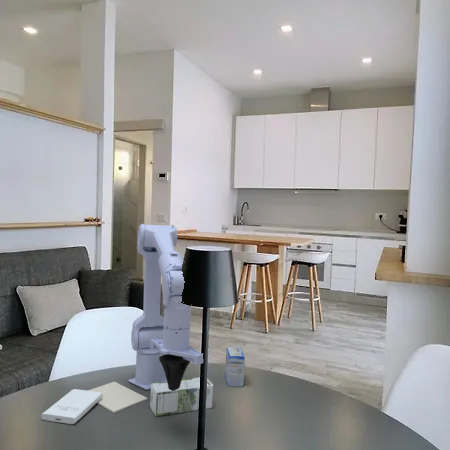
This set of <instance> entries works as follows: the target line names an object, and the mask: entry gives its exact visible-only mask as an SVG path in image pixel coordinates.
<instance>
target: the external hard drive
mask: <svg viewBox="0 0 450 450" xmlns="http://www.w3.org/2000/svg"><path fill="white" fill-rule="evenodd" d="M102 396H103V394H102V393H101V392H94V391H88V390H86V389H78V388H77V389H76V388H74V389H71V390H70V391H69V392H67V393H66V394H65V395H64V396H63V397H62V398H60V399H59V400H58V401H56V402H55V403H54V404H53V405H51V406H50V407H49V408H48V409H46V410H45V411H44V412H42V413H41V415H40V416H41V420H43V421H48V422H54V423H59V424H60V423H62V424H68V425H75V424H76V423H77V422H78V421H80V419H82V417H84V416H85V415H86V414H87V413H88V412H89V411H90V410H91V409H92V408H93V407H94V406H95V405H96V404H97V402H98V401H99V400H100V399H102Z"/></svg>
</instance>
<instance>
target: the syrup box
mask: <svg viewBox="0 0 450 450" xmlns="http://www.w3.org/2000/svg"><path fill="white" fill-rule="evenodd" d="M199 389H200V377H192V378H191V377H190V378H184V379H183V378H182V381H181V384H180V388H179V389H177V390H174V391H172V390H169V388H168V384H167V381H166V382H157V383H151V389H150V401H149V407H150V409H151V412H152V413H153V414H154V416H155V417H160V416H165V415H166V416H167V415H174V414H181V413H188V412H194V411H199V410H198V406H199ZM213 393H214V384H213V383H212V381H211V380H210V379H209V378H207V399H206V409H205V410H207V409H212V408H213V397H214V396H213V395H214V394H213Z"/></svg>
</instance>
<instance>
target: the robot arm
mask: <svg viewBox="0 0 450 450" xmlns="http://www.w3.org/2000/svg"><path fill="white" fill-rule="evenodd" d="M136 239H137V242H136V249H137V253H138V254H139V255H142V256H143V260H144V273H143V275H144V277H143V280H144V281H143V310H142V311H143V313H142V315H140V316H139V317H138V318H136V319H135V320H134V321H133V323H132V329H131V330H132V331H131V334H130V335H131V336H130V340H131V341H130V342H131V348H132V349H133V351H135V352H136V359H135V360H136V361H135V362H136V363H135V377H133V378H129V379H128V382H129V383H131V384H133V385H135V386H137V387H139V388H141V389H143V390H145V391H148V390H151V383H157V382H166V381H167V384H168V388H169V390H172V391H174V390H177V389H179V388H180V384H181V381H182V379H183V377H184V374H185V372H186V370H187V368H188V366H189V365H190V363H192V364H193V365H195V366H199V365H201V364H204V359H203V354H204V353H202V352H199V351H198V350H196V349H195V348H194V347H192V346H191V345H190V341H191V340H190V338H191V318H192V317H191V315H192V305H191V306H186V304H184V305H183V303H184V302H183V303H181V302H182V296H181V295H182V292H183V289H184V283H185V281H184V277H183V275H182V274H183V272H182V271H181V268H182V264H183V261H184V258H183V256H182V254H181V253H180V252H178V251H177V250H176V249H175V247H176V245H178V229H177V227H176V226H175V225H174V224H169V225H166V224H165V225H161V224H144V223H141V224H140V225H139V226H138V229H137V238H136ZM177 286H178V288H177ZM161 291H162V305H164V306H163V307H164V308H163V309H164V310H163V315H161ZM175 300H176V301H177V302H176V301H175ZM178 302H179V303H178ZM180 303H181V304H180ZM201 353H202V354H201Z"/></svg>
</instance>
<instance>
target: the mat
mask: <svg viewBox="0 0 450 450" xmlns="http://www.w3.org/2000/svg"><path fill="white" fill-rule="evenodd" d="M87 391H94V392H101V393H102V394H103V396H102V399H100V400H99V401H98V402H97V403H96V404H97V405H98V406H101V407H102V408H104V409H106V410H107V411H109V412H110V413H112V414H115V413H118V412H120V411H123V410H126V409H128V408H130V407H133V406H135V405H138V404H140V403H143V402H145V401H147V400H148V397H147V396H144V395H142V394H140V393H138V392H136V391H135V390H132V389H130V388H128V387H126V386H124V385H122V384H120V383H118V382H116V381H112V382H108V383H106V384H103V385H100V386H97V387H94V388H91V389H88V390H87Z"/></svg>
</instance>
